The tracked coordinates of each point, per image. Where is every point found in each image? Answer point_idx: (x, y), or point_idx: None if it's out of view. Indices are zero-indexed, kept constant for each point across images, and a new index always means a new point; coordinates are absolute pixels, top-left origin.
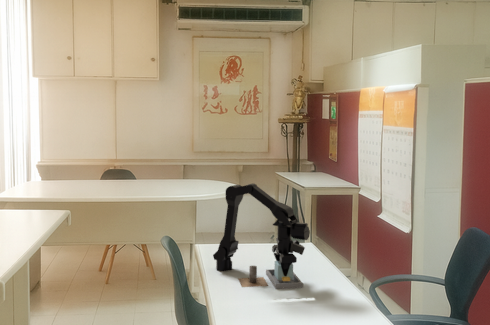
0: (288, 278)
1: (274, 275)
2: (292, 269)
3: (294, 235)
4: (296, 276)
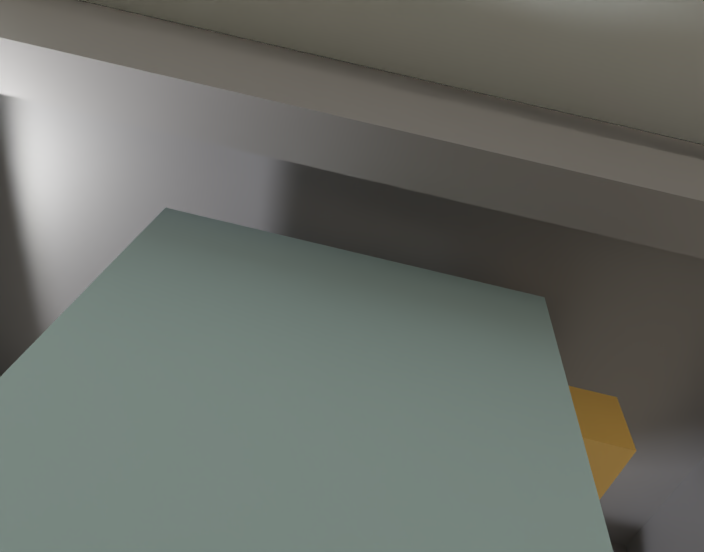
0: (612, 469)
1: (35, 337)
2: (594, 546)
3: None
4: (473, 169)
